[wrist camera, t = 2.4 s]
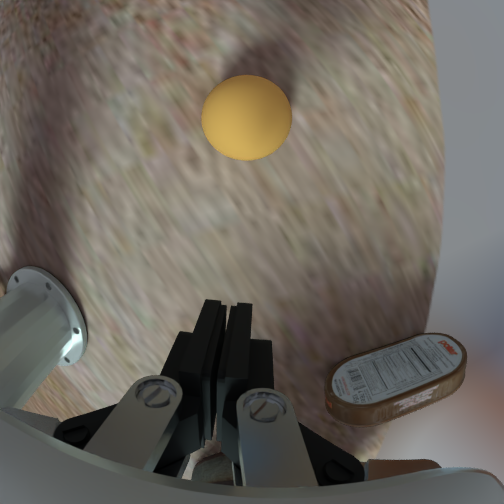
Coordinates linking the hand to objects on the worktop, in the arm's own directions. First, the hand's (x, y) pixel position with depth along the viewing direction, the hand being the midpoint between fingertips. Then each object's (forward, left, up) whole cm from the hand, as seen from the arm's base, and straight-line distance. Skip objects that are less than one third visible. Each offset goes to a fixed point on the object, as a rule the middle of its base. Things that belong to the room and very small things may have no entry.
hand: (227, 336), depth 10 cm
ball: (0, +9, -11) cm, 14 cm away
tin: (+16, -11, -14) cm, 24 cm away
